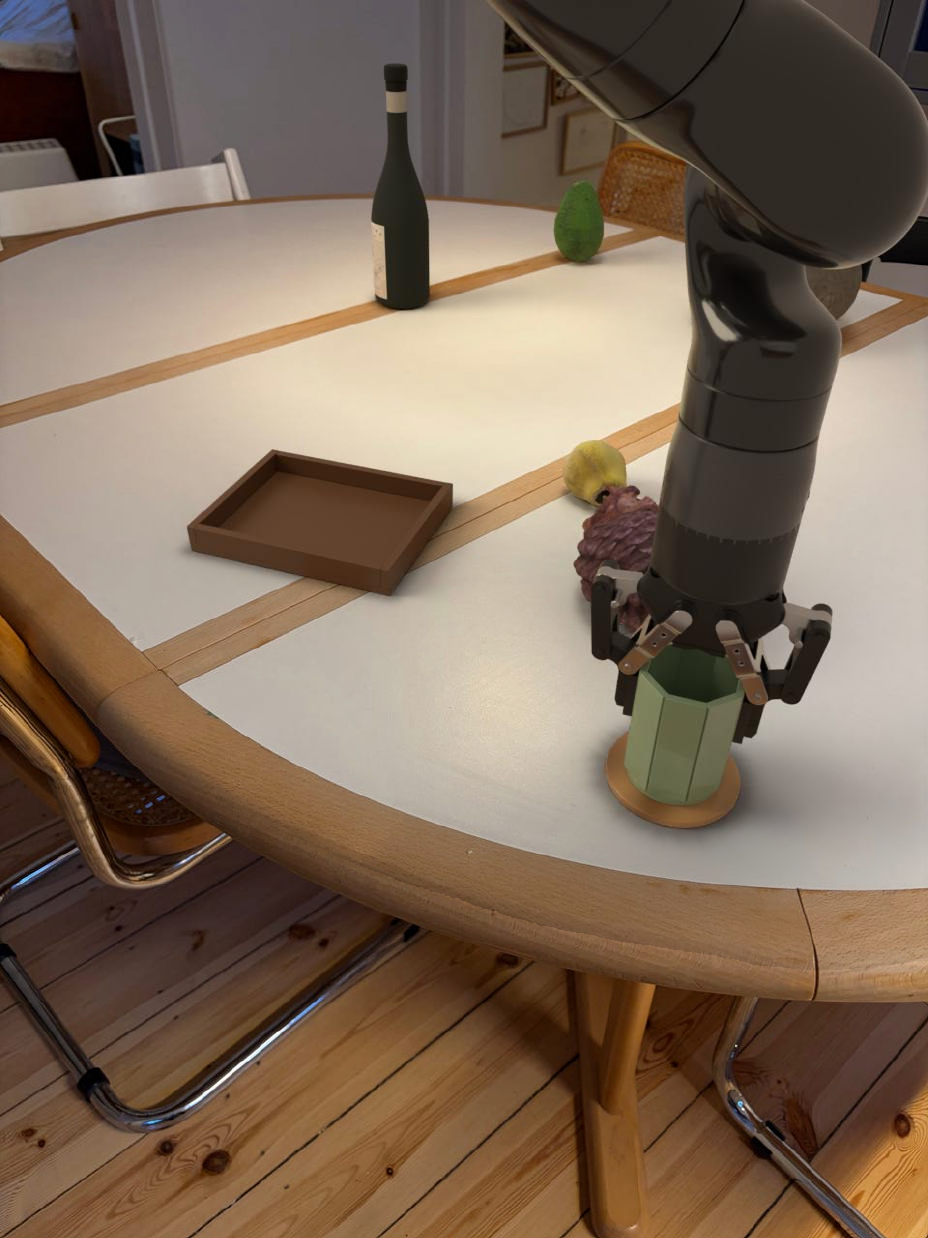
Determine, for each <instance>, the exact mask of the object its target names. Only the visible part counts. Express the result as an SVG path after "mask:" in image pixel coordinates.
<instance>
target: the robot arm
mask: <svg viewBox="0 0 928 1238" xmlns="http://www.w3.org/2000/svg"><path fill="white" fill-rule="evenodd" d="M484 2H486V4H487V5H489V6H490V7H491V9H492V10H493V11H494V12H495V13H496V14H497V15H498V16H499V17H500V19H502V20H503V21H504V23H505V24H506V25H507V26H509V28H510V29H511V30H512V31H513V32H514V33H516V34H517V36H518V37H520V39H521V40H522V41H523V42H524V43H525V44H527V45H528V46H529V48H531V49H532V51H534V52H535V53H536V54H537V55H538V56H539V57H540V58H541V59H542V60H543V61H545V62H546V63H547V64H548V65H549V67H551V68H552V69H554V70H555V71H556V72H557V73H558V74H560V75H561V77H563V78H564V79H565V80H566V81H567V82H568V83H569V84H570V85H572V87H574V89H576V90H577V91H579V93H581V94H582V95H583V96H584V97H585V98H587V99H588V101H589V102H591V103H592V104H594V105H595V106H596V107H597V108H598V109H599V110H600V111H601V112H603V113H604V114H605V115H606V116H608V117H609V118H610V119H611V120H612V121H613V122H614V123H616V124H617V125H618V126H619V127H621V128H622V129H624V130H625V131H626V132H628V133H629V134H631V135H632V136H634V137H635V138H637V139H638V140H640V141H642V142H643V143H645V144H647V145H649V146H651V147H652V148H655V149H656V150H660V151H662V152H663V153H666V154H669V155H671V156H673V157H675V158H677V159H679V160H682V161H683V162H685V163H686V168H685V172H684V173H685V174H684V183H683V185H684V186H683V202H682V208H683V209H682V210H683V211H682V212H683V214H682V215H683V233H684V234H683V236H684V250H685V251H684V253H685V265H686V267H685V268H686V283H687V297H688V305H689V311H690V319H691V330H692V332H691V333H692V334H691V343H690V348H689V353H688V356H687V362H686V367H685V374H684V380H683V386H682V392H681V398H680V404H679V411H678V415H677V419H676V424H675V427H674V430H673V433H672V435H671V438H670V442H669V446H668V448H667V449H668V450H667V454H666V459H665V465H664V470H663V471H664V472H663V477H662V478H663V479H662V484H661V491H660V495H659V496H660V498H659V503H658V505H659V508H658V514H657V520H656V527H655V533H654V539H653V545H652V551H651V558H650V563H649V564H648V565H647V566H646V567H645V568H644V569H643V571H642V572H634V571H626V570H620V569H619V565H618V564H617V563H616V562H615V561H613V560H604V561H603V562H602V563H601V564H600V567H599V569H598V571H597V574H596V576H595V578H594V581H593V583H592V585H591V602H590V634H591V636H590V637H591V638H590V643H591V645H590V646H591V647H590V649H591V650H590V651H591V655H592V656H593V658H594V659H596V660H599V661H606V660H609V661H611V662H613V663H614V664H615V665H616V666H617V669H618V672H617V679H616V685H615V691H614V698H613V699H614V702H615V706H618V707H622V713H621V714H622V715H623V716H627V717H629V718H630V717H632V711H633V705H634V699H635V694H636V688H637V682H638V676H639V670H640V668H641V667H642V666H643V665H644V664H645V663H646V662H647V661H648V660H649V659H650V658H652V659H653V658H655V657H656V656H657V655H658V654H659V653H660V652H661V651H662V650H663V649H664V648H665V647H666V646H667V645H668V644H669V643H670V642H672V643H673V645H672V647H676V648H681V649H687V650H700V651H703V652H705V653H707V654H709V655H712V656H716V657H721V658H725V655H727V656H728V658H729V661H730V663H731V666H732V668H733V671H734V673H735V676H736V677H737V678H740V681H741V683H742V686H743V688H744V691H745V695H744V699H743V703H742V706H741V710H740V714H739V718H738V721H737V725H736V729H735V733H734V736H733V740H732V743H735V744H739V745H743V741H744V738H748V739H753V738H754V737H755V736H756V735H757V734H758V730H759V726H760V722H761V719H762V716H763V713H764V708H765V706H766V704H767V703H768V702H770V701H773V700H780V701H781V702H783V703H784V704H786V705H791V706H794V705H797V704H799V703H800V702H801V701H802V698H803V696H804V695H805V693H806V690H807V689H808V687H809V685H810V683H811V681H812V678H813V676H814V674H815V672H816V670H817V668H818V666H819V664H820V662H821V660H822V657H823V655H824V653H825V651H826V649H827V647H828V645H829V643H830V641H831V637H832V627H833V614H834V613H833V612H834V611H833V609H832V607H831V606H830V605H829V604H826V603H816V604H814V605H812V607H810V608H808V607H805V606H801V605H797V604H794V603H791V602H788V599H787V596H786V594H785V591H784V585H785V583H786V579H787V576H788V571H789V568H790V563H791V561H792V557H793V552H794V549H795V546H796V541H797V538H798V535H799V532H800V528H801V524H802V520H803V516H804V512H805V509H806V505H807V502H808V500H809V498H810V495H811V487H812V484H813V480H814V475H815V472H816V471H815V469H816V462H817V453H818V445H819V439H820V435H821V431H822V426H823V423H824V419H825V415H826V412H827V408H828V404H829V401H830V397H831V393H832V389H833V385H834V383H835V379H836V375H837V372H838V368H839V363H840V359H841V354H842V346H843V335H842V330H841V328H840V325H839V322H838V320H837V321H836V319H835V318H834V316H833V315H832V314H831V313H830V311H829V310H828V309H827V308H826V307H825V306H824V305H823V304H822V303H821V302H820V301H819V300H818V298H817V297H816V296H815V295H814V293H813V292H812V290H811V289H810V287H809V284H808V282H807V278H806V271H805V266H809V267H814V268H819V269H844V268H850V267H854V266H857V265H860V264H861V265H862V264H865V263H868V262H870V261H872V260H874V259H876V258H878V257H880V256H881V255H883V254H885V253H886V252H887V251H889V250H890V249H892V248H893V247H894V246H895V245H896V244H898V243H899V242H900V241H901V240H902V238H904V237H905V236H906V234H907V233H908V232H909V231H910V230H911V228H912V227H913V225H914V224H915V222H916V221H917V219H918V217H919V216H920V214H921V212H922V210H923V208H924V206H925V204H926V201H927V199H928V118H927V116H926V114H925V112H924V109H923V107H922V106H921V104H920V102H919V100H918V98H917V97H916V95H915V93H913V91H912V89H910V87H909V86H908V85H907V84H906V83H905V81H904V80H903V79H902V78H901V77H900V76H899V75H898V74H897V73H896V72H895V71H894V70H893V69H892V68H891V67H889V66H888V65H887V64H886V63H885V62H884V61H882V59H880V58H879V56H877V55H876V54H874V53H873V52H872V51H871V50H869V48H867V46H864V44H862V43H861V42H860V41H858V39H856V38H855V37H853V36H852V35H851V34H850V33H848V32H847V31H846V30H844V28H842V27H841V26H839V25H838V24H837V23H836V22H834V21H833V20H832V19H831V18H829V17H828V16H826V15H825V14H824V13H823V12H821V11H820V10H819V9H817V8H815V7H814V6H812V5H811V4H810V3H808V2H807V1H805V0H484ZM632 593H637V594H638V597H639V599H640V600H641V602H642V603H643V605H644V607H645V608H646V610H647V612H648V613H649V615H648V616H647V618H646V619H645V621H644V623H643V624H642V625H641V626H640V627H639V628H638V629H637V630H636V631H635V632H634V633H631V635H630V636H627V635H625V634H624V633H621V632H620V623H619V606H622V605H624V604H625V603H626V601H627V598H628V596H629V595H630V594H632ZM781 625H784V626H785V627H786V628H787V630H788V640H789V641H790V643H791V644H793V647H792V650H791V651H790V654H789V656H788V659H787V661H786V662H785V665H784V667H783V668H776V669H775V668H774V669H772V668H771V666H770V663H769V661H768V658H767V656H766V655H767V654H766V652H765V649H764V640H763V638H764V637H765V636H766V635H768V634H770V633H771V632H773V631H774V630H776V629H777V628H779V627H780V626H781Z"/></svg>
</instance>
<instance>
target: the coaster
mask: <svg viewBox="0 0 928 1238" xmlns="http://www.w3.org/2000/svg"><path fill="white" fill-rule="evenodd" d="M628 735H629V730H628V731H627V732H625V733H623V734H621V736H619V737H617V739H616V740H615V741H614V742H613V744H612V745H611V746H610V748H609V751H608V753H607V756H606V760H605V777H606V781H607V784H608V786H609V788H610V790H611V792H612V794H613V795H614V796H615V798H616V799H617V800H618V801H619V802H620V803H621V804H622V806H624V807H625V808H626V809H627V810H629V811H630V812H632V813H633V814H635V815H636V816H638V817H640V818H641V819H644V820H646V821H648V822H651V823H654V824H657V825H660V826H665V827H668V828H678V829H693V828H699V827H704V826H707V825H710V824H713V823H715V822H717V821H719V820H720V819H722V818H724V817H725V816H726V815H727V814H728V813H729V812H730V811H731V810H732V809H733V808H734V806H735V804H736V802H737V800H738V797H739V794H740V790H741V776H740V775H741V774H740V771H739V769H738V767H737V764H736V762H735V760H734V759H733V757H732V756H731V754H729V755H728V759H727V763H726V766H725V770H724V774H723V778H722V781H721V785H720V789H718V791H716V792H715V793H714V794H713V795H712V796H711V797H710V798H709V799H707V800H705V801H703V802H701V803H698V804H694V805H689V806H675V805H668V804H664V803H661V802H658V801H655V800H653V799H651V798H649V797H647V796H646V795H644V794H643V793H642V792H640V791H639V790H638V789H637V788H636V787H635V786H634V785H633V783H632V782H631V781H630V779H629V777H628V775H627V772H626V768H625V766H624V759H625V753H626V747H627V741H628Z"/></svg>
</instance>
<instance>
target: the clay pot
mask: <svg viewBox="0 0 928 1238" xmlns="http://www.w3.org/2000/svg"><path fill="white" fill-rule="evenodd" d="M805 271H806V278H807V282H808V284H809V287H810V289H811V290H812V292H813V293H814V295H815V296H816V297H817V298H818V300H819V301H820V302H821V303H822V304H823V305H824V306H825V307H826V308H827V309H828V310H829V311H830V313H831V314H832V315H833V316H834V318H835V319H836V321H837V322H838V321H839V320H840V319H841V318H842V317H843V316H844V315H845V314H846V313H847V312H848V310H849V309H850V308H851V307H852V306H853V305H854V303H855V301H856V299H857V297H858V294H859V292H860V289H861V286H862V280H863V268H862V264H860V265H857V266H854V267H850V268H844V269H819V268H814V267H809V266H805Z"/></svg>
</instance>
